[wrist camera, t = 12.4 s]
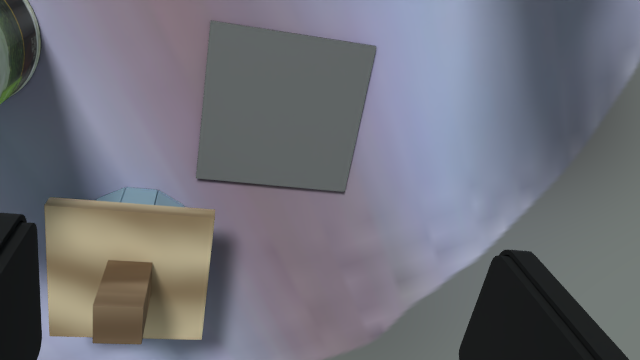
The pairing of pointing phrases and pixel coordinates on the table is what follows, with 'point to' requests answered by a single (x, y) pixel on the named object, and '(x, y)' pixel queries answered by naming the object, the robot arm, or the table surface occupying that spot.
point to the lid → (126, 270)
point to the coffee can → (17, 46)
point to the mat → (281, 107)
